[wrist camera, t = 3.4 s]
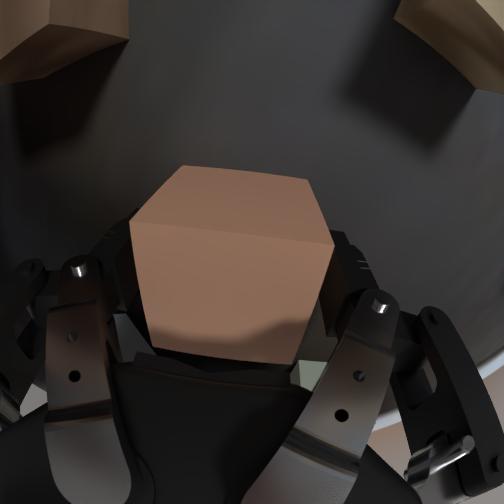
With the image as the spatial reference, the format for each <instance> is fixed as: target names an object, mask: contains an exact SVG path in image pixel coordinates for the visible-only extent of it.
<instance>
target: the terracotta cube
mask: <svg viewBox="0 0 504 504" xmlns="http://www.w3.org/2000/svg"><path fill="white" fill-rule="evenodd" d="M129 223H130V232H131V239H132V247H133V253H134V260H135V266H136V272H137V278H138V283H139V288H140V294H141V298H142V303H143V308H144V313H145V317H146V321H147V326H148V330H149V334H150V338H151V342H152V346H153V347H158V348H163V349H168V350H173V351H179V352H185V353H191V354H197V355H204V356H210V357H218V358H226V359H234V360H243V361H253V362H264V363H277V364H292V362H293V360H294V357H295V355H296V352H297V350H298V347H299V345H300V342H301V340H302V337H303V335H304V332H305V330H306V327H307V324H308V322H309V319H310V316H311V314H312V311H313V308H314V306H315V303H316V300H317V297H318V294H319V292H320V289H321V286H322V283H323V280H324V277H325V274H326V271H327V268H328V265H329V262H330V259H331V256H332V253H333V250H334V246H335V245H334V242H333V240H332V237H331V235H330V232H329V230H328V227H327V225H326V222H325V220H324V217H323V215H322V213H321V210H320V208H319V205H318V203H317V201H316V198H315V196H314V194H313V191H312V189H311V187H310V185H309V182H308V180H306V179H300V178H293V177H287V176H280V175H273V174H265V173H257V172H249V171H240V170H230V169H220V168H209V167H196V166H181V167H180V168H179V169H178V170H177V171H176V172H175V173H174V174H173V175H172V176H171V177H170V178H169V179H168V180H167V181H166V182H165V183H164V184H163V185H162V186H161V187H160V188H159V190H158V191H157V192H156V193H155V194H154V195H153V196H152V197H151V198H150V199H149V200H148V201H147V202H146V203H145V204H144V206H143V207H142V208H141V209H140V210H139V211H138V212H137V213H136V214H135V216H134V217H133V218H132V219H131V220H130V221H129Z"/></svg>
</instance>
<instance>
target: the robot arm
mask: <svg viewBox="0 0 504 504" xmlns="http://www.w3.org/2000/svg"><path fill="white" fill-rule="evenodd" d="M140 209H141V208H136V209H135V210H134V211H133V212H132V213H131V215H130V216H129V217H128V218H127V219H123V220H121V221H119V222H117V223H116V224H114V225H113V226H112V228H111V229H110V230H109V231H108V232H107V233H106V234H105V235H104V237H103V238H102V239H101V240H100V241H99V242H98V243H97V244H96V246H95V247H94V248H93V249H92V250H91V251H90V253H89V254H82V255H77V256H74V257H72V258H70V259H69V260H67V261H66V262H65V263H64V264H63V265H62V267H61V270H52V271H46V270H45V267H44V264H43V262H42V261H41V260H40V259H36V258H33V259H29V260H26V261H24V262H22V263H21V264H19V265H18V266H17V267H16V268H15V269H14V270H13V271H12V272H11V273H10V274H9V275H8V276H7V277H6V278H5V279H4V281H3V282H2V283H1V284H0V504H459V503H460V502H462V501H465V500H467V499H470V498H472V497H475V496H477V495H480V494H482V493H485V492H487V491H489V490H492V489H494V488H496V487H498V486H500V485H502V483H504V433H503V430H502V427H501V424H500V421H499V419H498V416H497V413H496V411H495V408H494V406H493V404H492V401H491V399H490V396H489V394H488V392H487V389H486V387H485V385H484V383H483V380H482V378H481V376H480V374H479V372H478V370H477V368H476V366H475V364H474V362H473V360H472V358H471V356H470V354H469V352H468V350H467V348H466V347H465V345H464V343H463V341H462V339H461V338H460V336H459V334H458V332H457V331H456V329H455V327H454V325H453V324H452V322H451V320H450V319H449V317H448V316H447V315H446V314H445V313H444V312H443V311H441V310H440V309H438V308H436V307H432V306H426V307H424V308H423V309H422V310H421V311H420V313H419V315H418V316H416V315H413V314H410V313H407V312H403V311H401V310H400V307H399V304H398V302H397V301H396V299H395V298H394V297H393V296H392V295H390V294H389V293H387V292H385V291H383V290H380V289H379V287H378V285H377V283H376V281H375V278H374V276H373V274H372V272H371V270H370V269H369V266H368V264H367V263H366V260H365V258H364V256H363V254H362V252H361V251H360V250H359V249H357V248H356V247H355V246H354V245H350V243H349V241H348V239H347V237H346V235H345V233H344V232H341V231H334V230H329V232H330V235H331V237H332V240H333V242H334V245H335V246H334V250H333V253H332V256H331V259H330V262H329V265H328V268H327V271H326V274H325V277H324V280H323V283H322V286H321V289H320V292H319V294H318V295H319V300H320V305H321V310H322V315H323V320H324V325H325V330H326V336H327V337H337V339H338V343H337V345H336V347H335V349H334V351H333V353H332V355H331V356H330V358H329V360H328V362H327V364H326V366H325V368H324V370H323V371H322V373H321V375H320V377H319V379H318V380H317V382H316V384H315V386H314V387H313V389H312V391H310V390H308V389H306V388H304V387H301V386H299V385H296V384H293V383H291V379H290V372H282V371H266V370H254V369H250V370H242V371H232V372H222V373H208V372H204V371H202V370H199V369H197V368H194V367H192V366H189V365H187V364H184V363H182V362H179V361H177V360H175V359H172V358H168V357H162V356H157V355H152V354H148V353H143V352H139V351H137V352H136V355H135V357H134V360H133V362H123V358H122V354H121V349H120V345H119V340H118V334H117V329H116V323H115V319H114V316H113V314H114V312H115V310H116V309H117V310H122V311H127V310H128V308H129V306H130V304H131V302H132V300H133V298H134V296H135V295H136V293H137V291H138V289H139V283H138V278H137V272H136V266H135V260H134V253H133V247H132V239H131V232H130V223H129V221H130V220H131V219H132V218H133V217H134V216H135V214H136V213H137V212H138V211H139V210H140ZM26 307H27V309H28V311H29V313H30V315H31V317H32V319H31V321H30V322H29V323H28V325H27V326H26V327H25V329H24V330H23V332H22V333H21V334H20V336H19V337H18V339H17V340H16V341H15V340H14V338H13V336H12V327H13V324H14V323H15V321H16V320H17V319H18V317H19V316H20V315H21V313H22V312H23V311H24V310H25V308H26ZM45 360H46V386H47V401H48V402H47V403H45V404H43V405H42V406H40V407H39V408H37V409H35V410H34V411H32V412H30V413H29V414H27V415H25V416H24V417H23V416H22V415H21V414H20V405H21V403H22V401H23V399H24V397H25V395H26V394H27V392H28V390H29V388H30V386H31V384H32V382H33V381H34V379H35V377H36V375H37V373H38V372H39V370H40V368H41V366H42V365H43V363H44V361H45ZM428 361H429V363H430V365H431V367H432V369H433V372H434V374H435V376H436V379H437V387H436V390H435V392H434V393H433V391H432V389H431V386H430V384H429V381H428V379H427V376H426V374H425V371H424V369H423V367H424V366H425V365H426V363H427V362H428ZM389 381H390V384H391V387H392V390H393V393H394V396H395V400H396V403H397V406H398V409H399V413H400V416H401V419H402V423H403V426H404V430H405V433H406V437H407V440H408V445H409V449H410V452H411V458H410V460H409V463H408V468H406V469H405V471H404V479H405V480H406V481H405V480H404V479H403V478H402V477H401V476H400V475H399V474H398V473H397V472H396V471H395V470H393V468H391V467H390V466H389V465H388V464H387V463H386V462H385V461H384V460H383V459H382V458H381V457H380V456H379V455H378V454H377V453H376V452H375V451H374V450H373V449H372V448H371V447H370V446H368V444H367V442H368V439H369V437H370V434H371V432H372V429H373V427H374V424H375V421H376V419H377V416H378V413H379V410H380V407H381V405H382V402H383V399H384V395H385V392H386V389H387V386H388V382H389Z"/></svg>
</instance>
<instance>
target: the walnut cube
mask: <svg viewBox="0 0 504 504" xmlns="http://www.w3.org/2000/svg"><path fill="white" fill-rule="evenodd" d="M127 40H130V36H129V3H128V0H0V86H1V85H6V84H10V83H16V82H21V81H27V80H34V79H41V78H45V77H46V76H48V75H50V74H52V73H53V72H55V71H57V70H59V69H61V68H63V67H65V66H67V65H69V64H71V63H73V62H75V61H77V60H79V59H81V58H84V57H86V56H88V55H90V54H93V53H95V52H97V51H100V50H102V49H105V48H107V47H110V46H113V45H115V44H118V43H121V42H124V41H127Z"/></svg>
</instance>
